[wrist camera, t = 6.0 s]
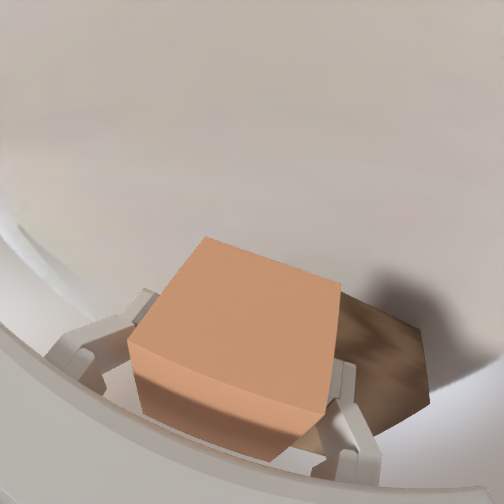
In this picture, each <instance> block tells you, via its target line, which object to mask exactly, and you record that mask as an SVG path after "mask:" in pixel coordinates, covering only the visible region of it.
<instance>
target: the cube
mask: <svg viewBox="0 0 504 504" xmlns="http://www.w3.org/2000/svg"><path fill="white" fill-rule="evenodd" d="M340 294H341V284H340V283H337V282H334V281H331V280H328V279H325V278H323V277H320V276H317V275H314V274H311V273H308V272H305V271H303V270H300V269H297V268H294V267H291V266H288V265H285V264H282V263H280V262H277V261H274V260H271V259H268V258H265V257H262V256H260V255H257V254H254V253H251V252H248V251H245V250H242V249H240V248H237V247H234V246H231V245H228V244H225V243H222V242H220V241H217V240H214V239H211V238H208V237H205V238H204V239H203V240H202V242H201V243H200V244H199V245H198V247H197V248H196V249H195V251H194V252H193V253H192V254H191V256H190V257H189V258H188V259H187V261H186V262H185V263H184V265H183V266H182V267H181V268H180V270H179V271H178V272H177V274H176V275H175V276H174V277H173V279H172V280H171V281H170V283H169V284H168V285H167V287H166V288H165V289H164V291H163V292H162V293H161V295H160V296H159V297H158V298H157V300H156V301H155V302H154V304H153V305H152V306H151V308H150V309H149V311H148V312H147V313H146V315H145V316H144V317H143V319H142V320H141V321H140V323H139V324H138V325H137V327H136V328H135V329H134V331H133V332H132V334H131V335H130V336H129V338H128V339H127V343H128V349H129V354H130V359H131V363H132V368H133V373H134V378H135V382H136V386H137V391H138V395H139V399H140V402H141V407H142V411H143V414H145V415H147V416H149V417H151V418H153V419H155V420H157V421H159V422H162V423H164V424H166V425H168V426H170V427H172V428H175V429H177V430H180V431H182V432H184V433H186V434H189V435H191V436H194V437H196V438H199V439H201V440H204V441H206V442H209V443H212V444H215V445H217V446H220V447H223V448H225V449H229V450H231V451H234V452H238V453H240V454H243V455H247V456H250V457H253V458H256V459H260V460H264V461H267V462H271V461H272V460H273V459H275V458H276V457H277V456H278V455H280V454H281V453H282V452H283V451H284V450H286V449H287V448H288V447H289V446H291V445H292V444H293V443H294V442H295V441H296V440H298V439H299V438H300V437H301V436H302V435H303V434H304V433H306V432H307V431H308V430H309V429H310V428H311V427H312V426H313V425H314V424H316V423H317V422H318V421H319V420H320V419H321V418H322V417H323V416H324V415H325V411H326V405H327V399H328V393H329V387H330V380H331V373H332V366H333V359H334V351H335V343H336V334H337V325H338V316H339V305H340Z"/></svg>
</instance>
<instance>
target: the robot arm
mask: <svg viewBox="0 0 504 504" xmlns="http://www.w3.org/2000/svg"><path fill="white" fill-rule="evenodd" d="M159 296H160V294H157V293H155V292H153V291H151V290H148V289H146V288H144V289H142V290H141V291H140V292H139V293H138V294H137V295H136V297H135V298H134V299H133V300H132V301H131V303H130V304H129V305H128V306H127V308H126V309H125V310H124V311H123V312H122V314H121V315H120V316H118V315H114V316H111V317H108V318H106V319H103V320H100V321H97V322H95V323H92V324H89V325H86V326H84V327H81V328H78V329H75V330H72V331H70V332H67V333H64V334H63V335H62V336H61V337H60V339H59V340H58V341H57V342H56V343H55V345H54V346H53V347H52V348H51V349H50V351H49V352H48V353H47V354H46V355H45V357H42V356H41V355H40V354H39V353H37V352H36V351H35V350H33V349H32V348H31V347H29V346H28V345H27V344H26V343H25V342H23V341H22V340H21V339H19V338H18V337H17V336H16V335H15V334H14V333H12V332H11V331H10V330H9V329H8V328H7V327H5V326H4V325H3V324H2V323H1V322H0V504H495V502H494V500H493V498H492V496H491V494H490V492H489V491H488V490H487V488H486V487H484V486H474V487H461V488H440V489H413V488H391V487H378V485H379V477H380V469H381V459H382V454H381V452H380V449H379V447H378V445H377V443H376V441H375V439H374V437H373V435H372V433H371V431H370V429H369V427H368V425H367V423H366V421H365V419H364V417H363V415H362V413H361V411H360V409H359V407H358V405H357V404H356V403H354V392H355V380H356V365H355V364H352V363H348V362H345V361H342V360H339V359H336V358H334V359H333V366H332V373H331V380H330V387H329V393H328V399H327V405H326V411H325V415H324V416H323V417H322V418H321V419H320V420H319V421H318V422H317V423H316V424H315V425H316V428H317V431H318V434H319V437H320V440H321V443H322V446H323V449H324V453H325V456H326V459H327V460H325V461H324V462H322V463H320V464H318V465H317V466H315V467H313V468H312V472H311V476H310V477H309V476H305V475H300V474H296V473H291V472H287V471H283V470H279V469H275V468H272V467H268V466H264V465H261V464H257V463H254V462H251V461H247V460H244V459H241V458H238V457H235V456H232V455H229V454H226V453H223V452H220V451H217V450H215V449H212V448H209V447H207V446H204V445H202V444H199V443H196V442H194V441H192V440H189V439H187V438H184V437H182V436H179V435H177V434H175V433H173V432H170V431H168V430H166V429H164V428H162V427H160V426H157V425H155V424H153V423H151V422H149V421H147V420H145V419H143V418H141V417H139V416H137V415H135V414H133V413H131V412H129V411H127V410H126V409H124V408H122V407H120V406H118V405H117V404H114V403H113V402H111V401H110V400H108V399H106V398H104V397H103V394H104V392H105V391H106V389H107V388H106V384H105V382H104V379H103V377H102V374H104V373H105V372H107V371H109V370H111V369H113V368H115V367H117V366H119V365H121V364H123V363H124V362H126V361H128V360H130V354H129V349H128V343H127V339H128V338H129V336H130V335H131V334H132V332H133V331H134V329H135V328H136V327H137V325H138V324H139V323H140V321H141V320H142V319H143V317H144V316H145V315H146V313H147V312H148V311H149V309H150V308H151V306H152V305H153V304H154V302H155V301H156V300H157V298H158V297H159Z"/></svg>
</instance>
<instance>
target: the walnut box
mask: <svg viewBox="0 0 504 504" xmlns="http://www.w3.org/2000/svg"><path fill="white" fill-rule="evenodd" d="M334 358H336V359H339V360H342V361H345V362H348V363H352V364H355V365H356V380H355V392H354V403H356V404H357V405H358V407H359V409H360V411H361V413H362V415H363V417H364V419H365V421H366V423H367V425H368V427H369V429H370V431H371V433H372V435H373V437H374V436H376V435H378V434H380V433H382V432H383V431H385V430H387V429H389V428H391V427H393V426H394V425H396V424H398V423H399V422H401V421H403V420H405V419H406V418H408V417H410V416H412V415H413V414H415V413H416V412H418V411H420V410H421V409H423V408H424V407H426V406H428V405H429V404H430V398H429V388H428V379H427V371H426V364H425V357H424V350H423V344H422V338H421V333H420V330H419V329H416V328H414V327H412V326H410V325H408V324H406V323H404V322H402V321H400V320H398V319H396V318H394V317H392V316H390V315H388V314H386V313H384V312H382V311H380V310H378V309H376V308H373V307H371V306H369V305H367V304H365V303H363V302H361V301H359V300H357V299H355V298H353V297H351V296H349V295H347V294H345V293H343V292H341V294H340V305H339V316H338V325H337V334H336V343H335V351H334ZM291 447H294V448H298V449H301V450H305V451H309V452H312V453H316V454H320V455H323V456H325V453H324V449H323V446H322V443H321V440H320V437H319V434H318V431H317V428H316V425H315V424H314V425H313V426H312V427H311V428H310V429H309V430H308V431H307V432H306V433H304V434H303V435H302V436H301V437H300V438H299V439H298V440H296V441H295V442H294V443H293V444H292V445H291Z"/></svg>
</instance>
